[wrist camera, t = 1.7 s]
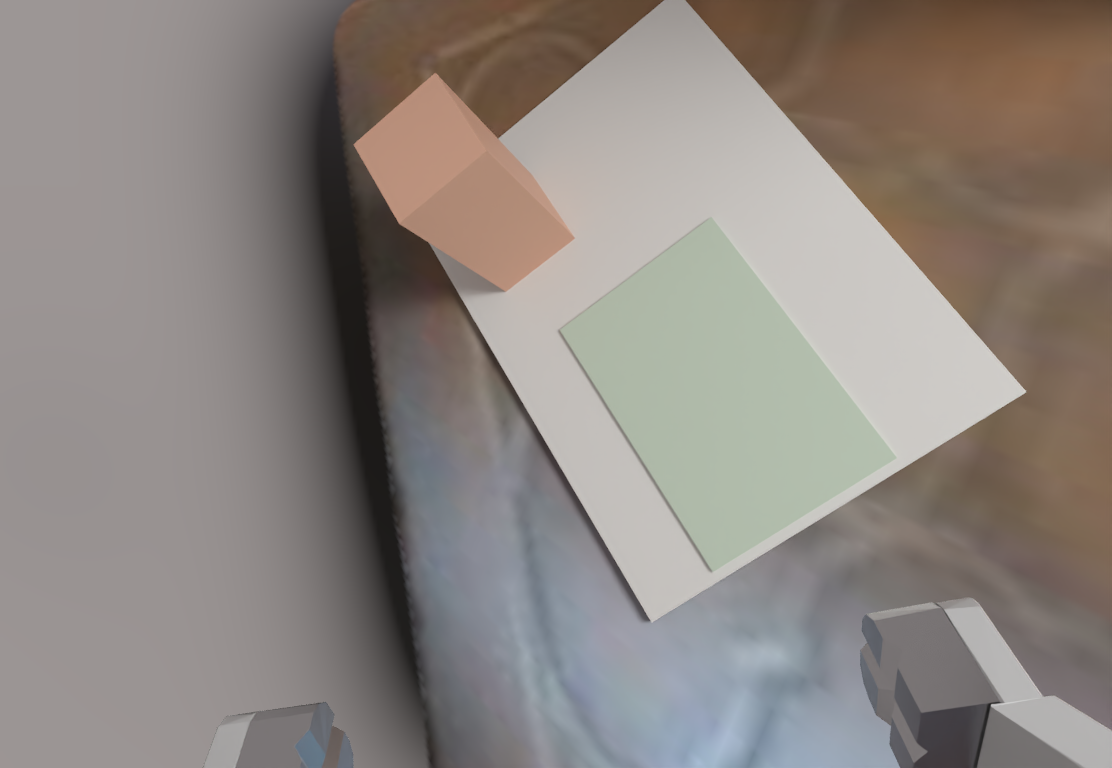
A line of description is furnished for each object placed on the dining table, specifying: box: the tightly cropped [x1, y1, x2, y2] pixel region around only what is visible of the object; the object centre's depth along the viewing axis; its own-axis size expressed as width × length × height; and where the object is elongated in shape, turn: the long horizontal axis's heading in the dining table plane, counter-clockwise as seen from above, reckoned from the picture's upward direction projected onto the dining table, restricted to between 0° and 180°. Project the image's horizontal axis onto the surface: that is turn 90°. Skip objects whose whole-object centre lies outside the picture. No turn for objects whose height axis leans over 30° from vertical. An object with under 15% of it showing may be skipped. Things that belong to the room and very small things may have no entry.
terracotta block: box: [354, 73, 575, 292], centre depth 38 cm, size 5×5×11 cm
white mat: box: [429, 0, 1026, 622], centre depth 39 cm, size 20×28×1 cm
